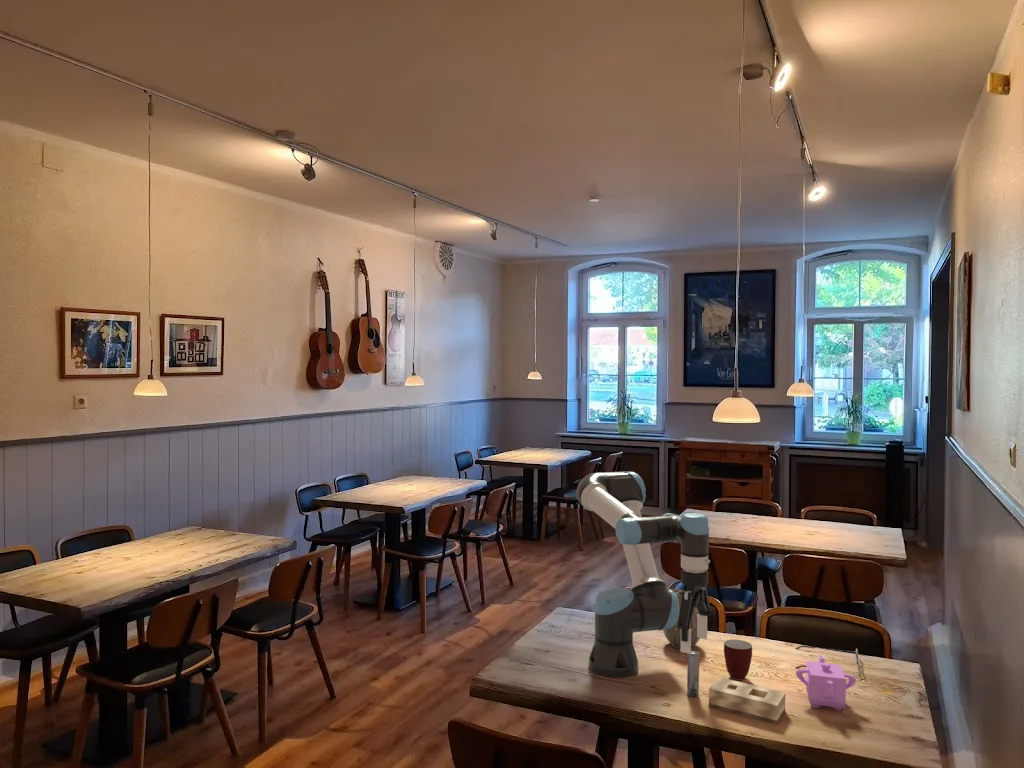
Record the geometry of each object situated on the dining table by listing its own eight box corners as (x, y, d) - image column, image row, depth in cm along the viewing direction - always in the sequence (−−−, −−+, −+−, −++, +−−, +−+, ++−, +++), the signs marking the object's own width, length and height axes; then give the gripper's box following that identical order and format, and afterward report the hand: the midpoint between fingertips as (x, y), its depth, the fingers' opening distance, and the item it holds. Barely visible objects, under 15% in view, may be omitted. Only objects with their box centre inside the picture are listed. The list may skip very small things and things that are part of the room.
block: (708, 706, 198) (708, 688, 198) (718, 694, 206) (719, 677, 206) (777, 724, 188) (777, 705, 188) (785, 711, 196) (785, 692, 196)
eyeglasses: (862, 680, 218) (861, 666, 218) (794, 671, 225) (794, 658, 225) (857, 658, 235) (857, 645, 235) (795, 651, 242) (794, 639, 242)
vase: (706, 653, 237) (707, 599, 236) (666, 652, 237) (667, 599, 237) (697, 638, 250) (697, 587, 250) (658, 637, 250) (659, 587, 250)
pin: (685, 695, 205) (685, 653, 205) (689, 691, 208) (689, 649, 207) (696, 698, 203) (697, 655, 203) (700, 694, 206) (700, 652, 206)
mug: (745, 688, 210) (745, 654, 210) (717, 682, 214) (718, 648, 214) (754, 676, 219) (755, 643, 219) (727, 669, 223) (728, 637, 223)
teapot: (866, 710, 197) (866, 670, 197) (830, 719, 191) (830, 678, 191) (820, 688, 211) (821, 650, 211) (786, 696, 205) (786, 658, 205)
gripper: (692, 581, 192) (691, 661, 192) (721, 562, 213) (721, 634, 213) (665, 577, 196) (664, 655, 196) (696, 558, 217) (696, 629, 217)
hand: (694, 645), depth 205 cm, fingers open, 13 cm apart
